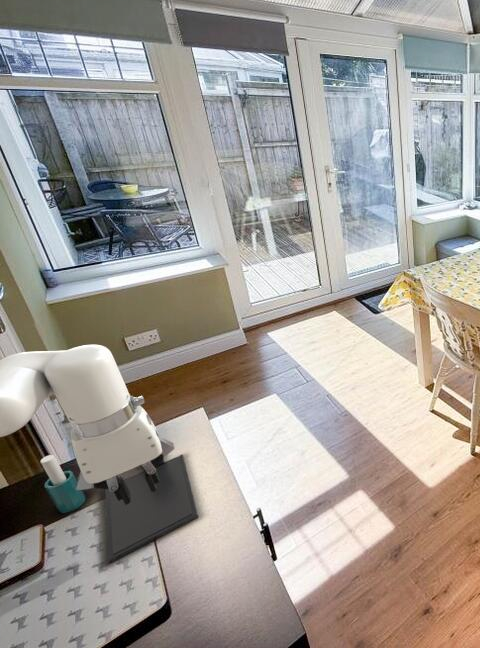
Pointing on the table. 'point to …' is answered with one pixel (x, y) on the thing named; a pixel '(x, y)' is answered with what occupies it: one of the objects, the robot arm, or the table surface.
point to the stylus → (53, 470)
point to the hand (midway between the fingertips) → (140, 491)
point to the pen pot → (66, 493)
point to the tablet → (149, 509)
